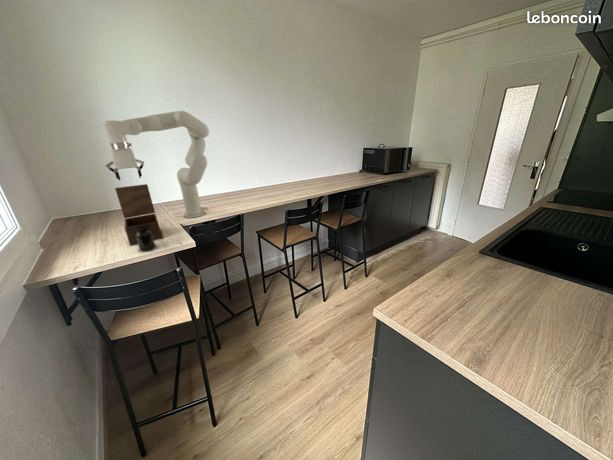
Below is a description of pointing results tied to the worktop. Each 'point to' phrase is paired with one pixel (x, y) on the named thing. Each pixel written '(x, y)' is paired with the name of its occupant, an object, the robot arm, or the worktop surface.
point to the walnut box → (138, 221)
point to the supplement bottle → (144, 238)
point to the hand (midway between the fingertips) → (130, 178)
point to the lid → (135, 200)
